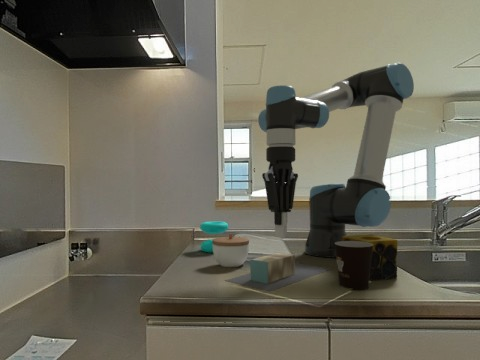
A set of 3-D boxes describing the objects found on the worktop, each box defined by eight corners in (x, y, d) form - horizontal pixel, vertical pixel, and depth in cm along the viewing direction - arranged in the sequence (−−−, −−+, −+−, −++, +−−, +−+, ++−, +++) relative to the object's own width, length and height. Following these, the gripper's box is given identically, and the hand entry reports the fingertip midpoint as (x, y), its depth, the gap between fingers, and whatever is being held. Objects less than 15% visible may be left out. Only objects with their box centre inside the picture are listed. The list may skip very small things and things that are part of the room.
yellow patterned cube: (340, 273, 104) (340, 235, 104) (371, 269, 108) (370, 233, 108) (365, 282, 94) (365, 241, 94) (398, 278, 98) (398, 239, 98)
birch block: (279, 252, 105) (250, 259, 96) (294, 254, 101) (266, 262, 92) (279, 271, 105) (250, 279, 96) (294, 274, 101) (266, 283, 92)
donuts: (230, 223, 133) (201, 224, 132) (230, 252, 133) (201, 253, 132) (226, 220, 143) (199, 221, 142) (226, 247, 143) (199, 248, 142)
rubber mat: (289, 263, 116) (289, 261, 116) (332, 270, 107) (332, 268, 107) (224, 282, 95) (224, 280, 95) (270, 292, 86) (270, 291, 86)
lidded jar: (227, 272, 106) (227, 237, 105) (205, 265, 114) (205, 233, 114) (256, 266, 112) (256, 234, 112) (233, 260, 121) (233, 230, 121)
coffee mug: (375, 293, 86) (375, 247, 86) (335, 290, 87) (335, 246, 87) (369, 279, 97) (369, 239, 97) (333, 277, 99) (333, 238, 99)
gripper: (283, 148, 108) (283, 233, 108) (253, 145, 99) (253, 238, 99) (306, 147, 103) (306, 235, 103) (277, 144, 94) (277, 241, 94)
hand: (280, 237), depth 101 cm, fingers closed
